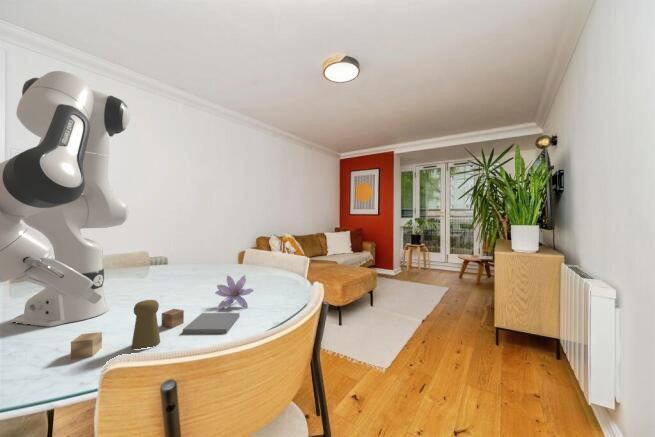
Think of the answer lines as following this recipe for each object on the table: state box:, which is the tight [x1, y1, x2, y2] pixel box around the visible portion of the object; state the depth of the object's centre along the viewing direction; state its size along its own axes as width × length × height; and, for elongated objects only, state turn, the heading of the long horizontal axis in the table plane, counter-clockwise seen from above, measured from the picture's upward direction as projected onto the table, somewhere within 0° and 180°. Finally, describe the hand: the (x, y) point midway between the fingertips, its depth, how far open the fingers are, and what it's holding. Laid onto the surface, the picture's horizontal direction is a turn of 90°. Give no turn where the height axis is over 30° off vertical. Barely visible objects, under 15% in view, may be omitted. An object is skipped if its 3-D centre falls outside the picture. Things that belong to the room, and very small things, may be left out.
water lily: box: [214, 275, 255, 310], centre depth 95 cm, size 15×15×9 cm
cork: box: [130, 299, 161, 350], centre depth 65 cm, size 6×6×11 cm
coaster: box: [182, 312, 240, 335], centre depth 77 cm, size 12×12×1 cm
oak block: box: [70, 331, 103, 360], centre depth 61 cm, size 4×4×4 cm
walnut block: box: [161, 308, 185, 329], centre depth 77 cm, size 4×4×4 cm
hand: (86, 296), depth 55 cm, fingers open, 8 cm apart
